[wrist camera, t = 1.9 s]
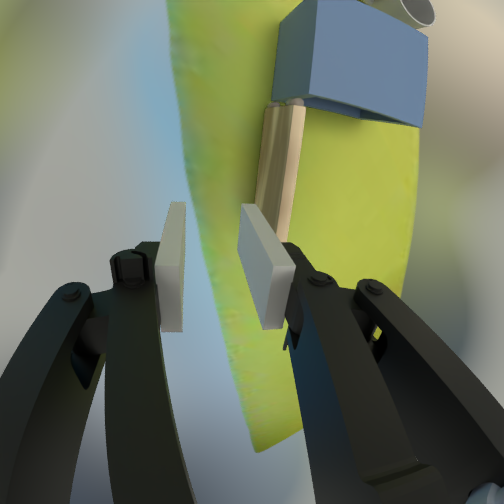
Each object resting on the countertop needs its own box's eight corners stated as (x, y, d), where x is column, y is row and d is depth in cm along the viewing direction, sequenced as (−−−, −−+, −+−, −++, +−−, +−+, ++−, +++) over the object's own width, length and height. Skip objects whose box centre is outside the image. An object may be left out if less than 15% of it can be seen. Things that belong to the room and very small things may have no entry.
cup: (396, 42, 29) (434, 35, 21) (345, 13, 26) (378, -4, 19) (401, 12, 26) (436, 2, 18) (352, -18, 23) (383, -36, 16)
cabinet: (280, 22, 27) (318, -13, 15) (369, 49, 30) (428, 36, 18) (271, 100, 32) (308, 93, 21) (361, 119, 35) (421, 128, 24)
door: (275, 103, 31) (307, 99, 22) (262, 211, 38) (285, 246, 28) (265, 102, 31) (294, 96, 21) (253, 211, 38) (274, 246, 28)
